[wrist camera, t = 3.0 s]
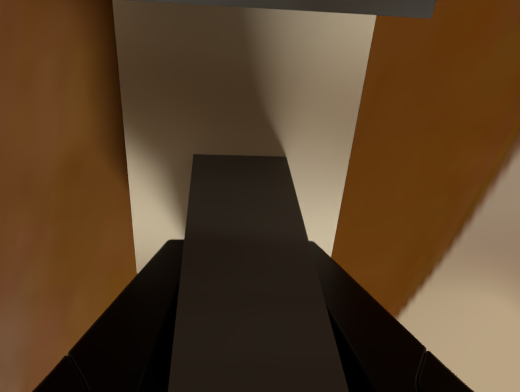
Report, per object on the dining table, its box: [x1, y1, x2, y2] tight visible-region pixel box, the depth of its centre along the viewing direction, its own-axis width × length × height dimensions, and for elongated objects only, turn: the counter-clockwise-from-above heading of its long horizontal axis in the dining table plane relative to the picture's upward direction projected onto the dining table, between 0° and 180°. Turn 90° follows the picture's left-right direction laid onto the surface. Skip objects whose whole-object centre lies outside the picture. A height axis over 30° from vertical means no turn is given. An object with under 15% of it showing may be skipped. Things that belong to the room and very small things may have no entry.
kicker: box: [112, 0, 436, 392], centre depth 8 cm, size 8×5×7 cm, turn 176°
